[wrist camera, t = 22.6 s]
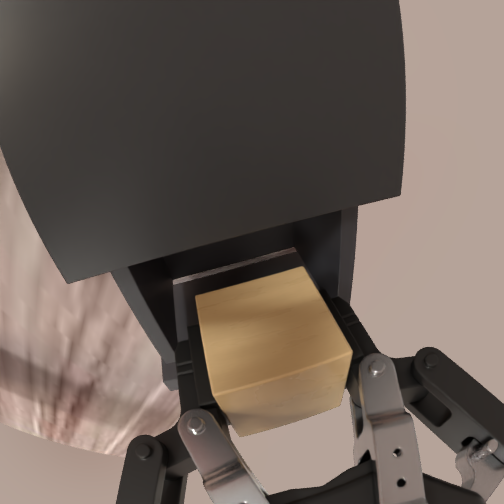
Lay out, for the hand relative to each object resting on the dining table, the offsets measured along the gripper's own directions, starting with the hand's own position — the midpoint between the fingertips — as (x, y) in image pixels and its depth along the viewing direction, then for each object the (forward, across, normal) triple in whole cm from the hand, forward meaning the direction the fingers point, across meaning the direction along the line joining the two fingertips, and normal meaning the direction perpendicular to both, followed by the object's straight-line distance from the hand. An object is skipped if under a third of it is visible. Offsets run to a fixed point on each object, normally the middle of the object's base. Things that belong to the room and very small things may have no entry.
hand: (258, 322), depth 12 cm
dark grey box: (+10, 0, -12) cm, 15 cm away
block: (0, 0, 0) cm, 0 cm away
